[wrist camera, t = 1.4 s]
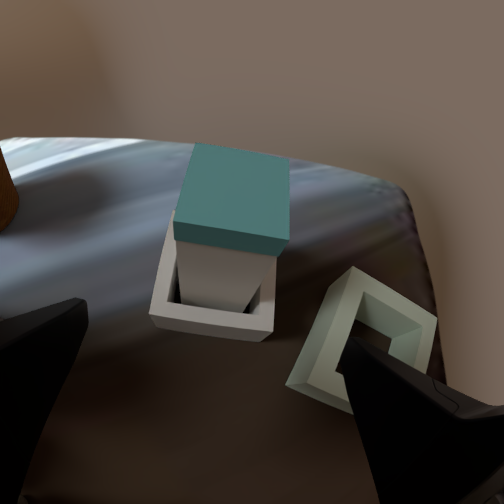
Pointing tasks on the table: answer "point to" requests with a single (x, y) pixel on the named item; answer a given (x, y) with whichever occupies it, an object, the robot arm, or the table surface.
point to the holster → (206, 319)
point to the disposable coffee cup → (6, 195)
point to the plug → (229, 225)
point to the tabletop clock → (22, 500)
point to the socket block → (338, 328)
